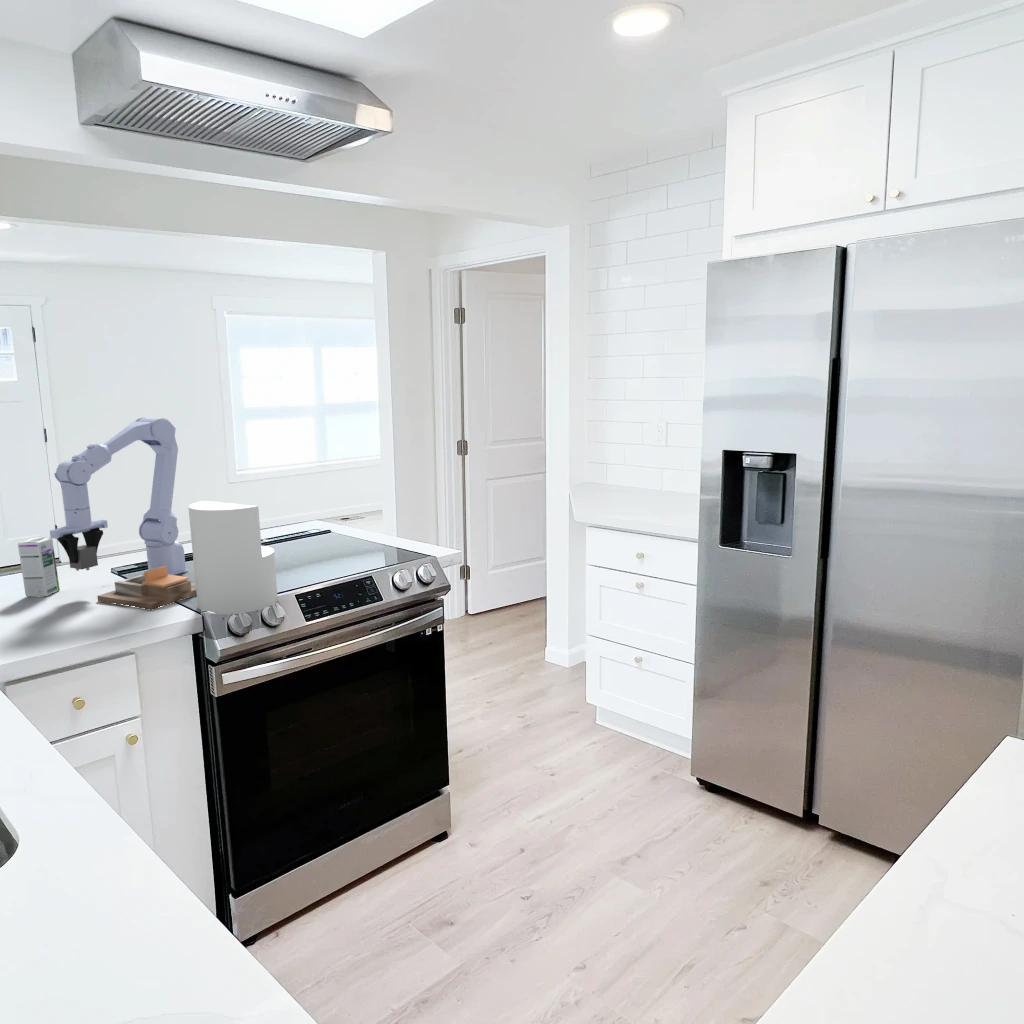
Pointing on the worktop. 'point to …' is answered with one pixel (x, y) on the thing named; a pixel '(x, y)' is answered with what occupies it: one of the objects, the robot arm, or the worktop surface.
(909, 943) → the worktop surface
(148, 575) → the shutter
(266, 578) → the cylinder
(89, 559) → the plug
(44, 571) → the syrup box
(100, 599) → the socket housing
